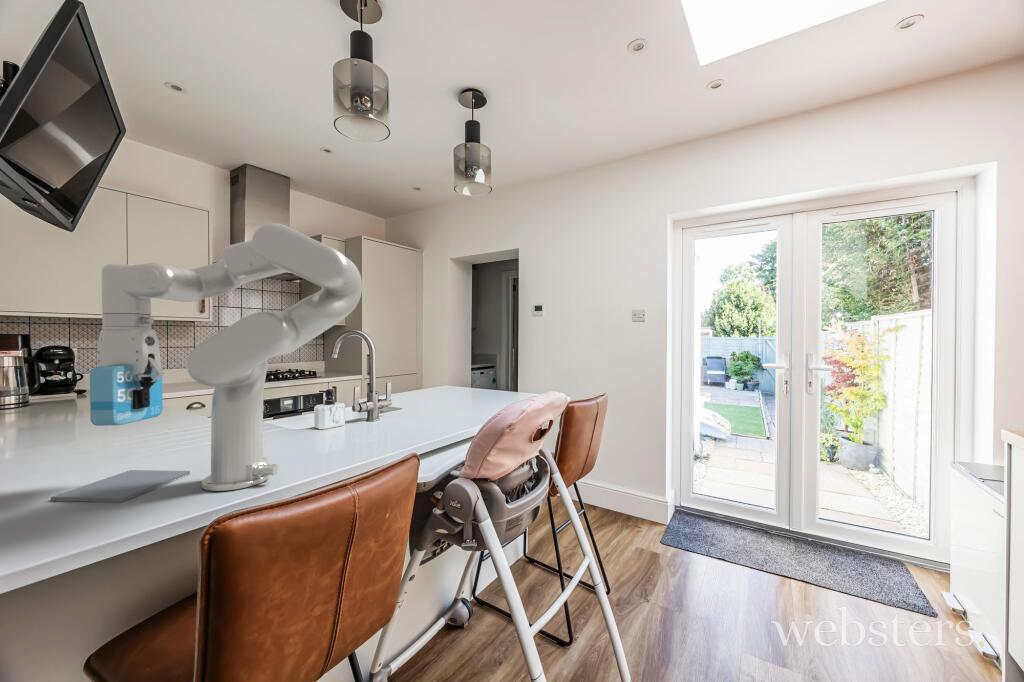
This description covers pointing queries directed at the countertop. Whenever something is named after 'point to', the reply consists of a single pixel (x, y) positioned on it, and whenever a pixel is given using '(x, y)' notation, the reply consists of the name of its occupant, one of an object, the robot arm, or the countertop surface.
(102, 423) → the data package
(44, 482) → the countertop surface
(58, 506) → the countertop surface
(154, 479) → the grey mat
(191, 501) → the countertop surface
